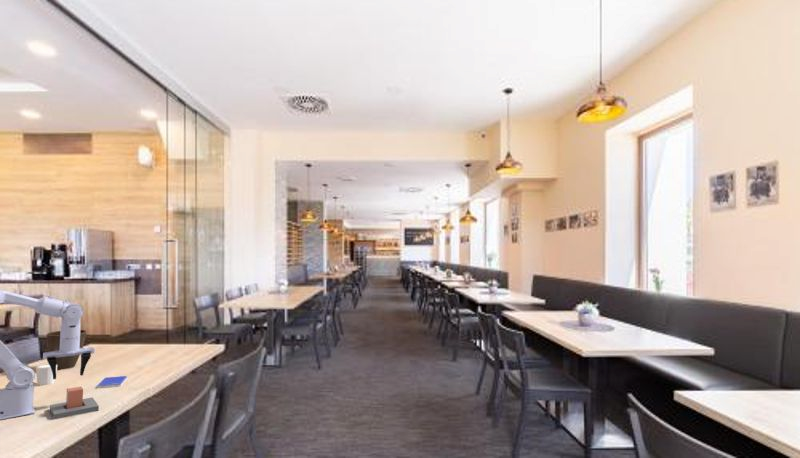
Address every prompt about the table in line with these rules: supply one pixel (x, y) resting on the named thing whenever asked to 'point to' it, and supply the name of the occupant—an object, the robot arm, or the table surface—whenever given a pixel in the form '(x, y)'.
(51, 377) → the white tapered cup
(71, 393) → the reddish brown block
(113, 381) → the hard drive
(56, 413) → the socket plate
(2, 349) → the robot arm
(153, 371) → the table surface
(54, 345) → the plant pot
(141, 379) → the table surface
